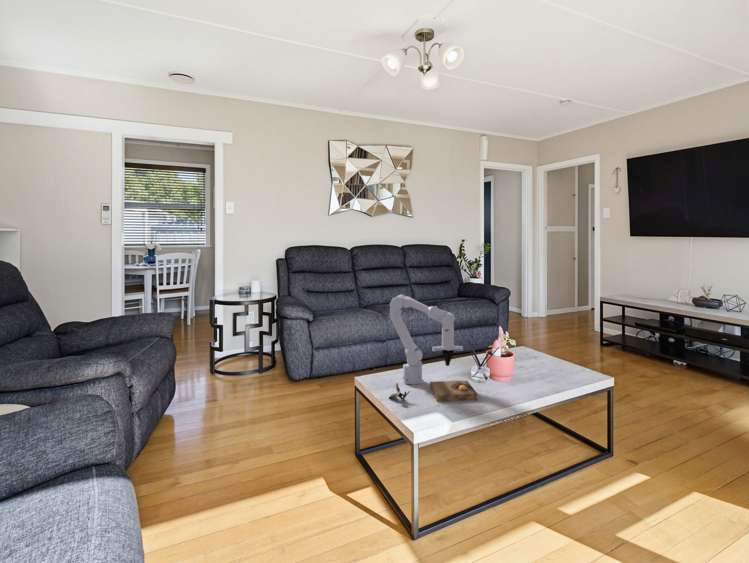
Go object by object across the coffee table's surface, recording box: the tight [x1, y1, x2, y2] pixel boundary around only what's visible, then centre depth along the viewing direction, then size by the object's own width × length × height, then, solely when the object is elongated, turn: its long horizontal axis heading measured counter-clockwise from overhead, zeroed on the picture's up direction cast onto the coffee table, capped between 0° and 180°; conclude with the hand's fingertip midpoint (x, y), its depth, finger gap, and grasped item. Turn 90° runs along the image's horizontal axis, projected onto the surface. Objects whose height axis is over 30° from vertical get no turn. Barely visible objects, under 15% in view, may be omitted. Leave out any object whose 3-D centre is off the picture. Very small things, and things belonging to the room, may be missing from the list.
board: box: [429, 380, 478, 402], centre depth 185 cm, size 18×16×3 cm
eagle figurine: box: [388, 382, 411, 403], centre depth 179 cm, size 8×7×9 cm
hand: (447, 365), depth 195 cm, fingers closed
